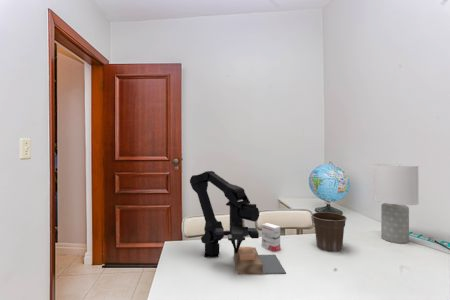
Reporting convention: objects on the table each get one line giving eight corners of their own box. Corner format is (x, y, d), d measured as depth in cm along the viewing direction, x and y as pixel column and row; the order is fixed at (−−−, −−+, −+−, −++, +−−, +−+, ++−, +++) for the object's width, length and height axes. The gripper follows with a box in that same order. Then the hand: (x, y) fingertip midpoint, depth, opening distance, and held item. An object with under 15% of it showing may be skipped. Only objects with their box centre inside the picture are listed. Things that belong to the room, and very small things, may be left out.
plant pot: (325, 255, 114) (325, 221, 114) (305, 242, 130) (305, 212, 130) (354, 252, 118) (354, 219, 118) (332, 240, 133) (332, 211, 133)
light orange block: (240, 260, 100) (240, 255, 100) (238, 251, 109) (238, 246, 109) (254, 259, 100) (254, 255, 100) (251, 250, 109) (251, 246, 109)
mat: (262, 274, 96) (262, 273, 96) (255, 255, 113) (255, 254, 113) (286, 273, 97) (286, 272, 97) (275, 255, 114) (275, 254, 114)
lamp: (368, 239, 135) (368, 165, 135) (379, 231, 149) (379, 163, 149) (414, 250, 120) (414, 166, 120) (421, 240, 134) (421, 165, 134)
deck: (237, 274, 96) (237, 264, 96) (233, 256, 113) (233, 247, 113) (262, 274, 96) (262, 264, 96) (255, 255, 113) (255, 247, 113)
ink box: (280, 249, 120) (280, 226, 121) (274, 252, 117) (274, 228, 117) (267, 244, 127) (267, 222, 127) (261, 247, 124) (261, 224, 124)
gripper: (214, 222, 96) (214, 262, 96) (261, 222, 97) (261, 261, 97) (214, 215, 107) (214, 250, 107) (256, 214, 108) (256, 249, 108)
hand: (236, 253), depth 104 cm, fingers closed
